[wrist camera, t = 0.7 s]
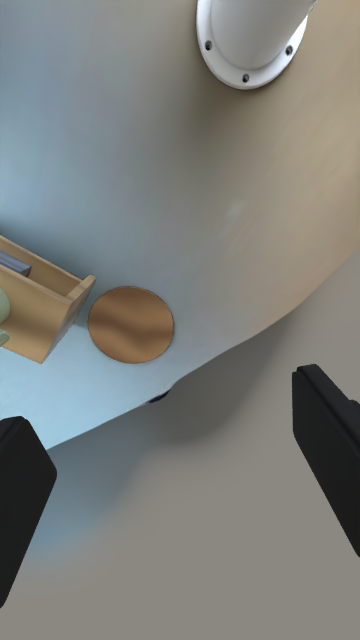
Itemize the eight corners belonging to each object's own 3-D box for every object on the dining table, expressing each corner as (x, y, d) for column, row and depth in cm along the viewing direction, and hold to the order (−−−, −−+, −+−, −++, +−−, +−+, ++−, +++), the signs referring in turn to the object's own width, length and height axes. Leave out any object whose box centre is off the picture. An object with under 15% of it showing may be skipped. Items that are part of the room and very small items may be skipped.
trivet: (84, 285, 43) (82, 286, 43) (174, 287, 44) (174, 288, 43) (93, 361, 50) (92, 363, 49) (172, 362, 50) (172, 364, 50)
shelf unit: (-17, 215, 38) (-94, 221, 27) (96, 277, 43) (70, 305, 32) (-35, 272, 42) (-109, 298, 31) (72, 324, 46) (41, 364, 35)
